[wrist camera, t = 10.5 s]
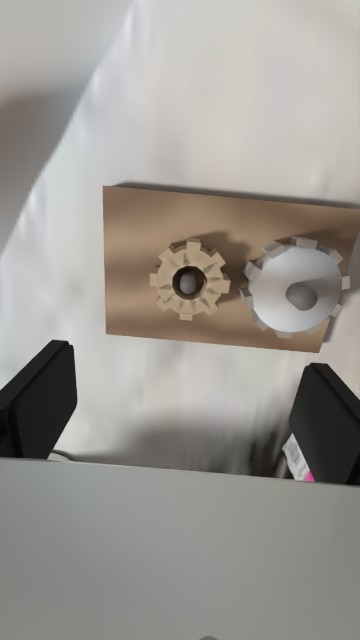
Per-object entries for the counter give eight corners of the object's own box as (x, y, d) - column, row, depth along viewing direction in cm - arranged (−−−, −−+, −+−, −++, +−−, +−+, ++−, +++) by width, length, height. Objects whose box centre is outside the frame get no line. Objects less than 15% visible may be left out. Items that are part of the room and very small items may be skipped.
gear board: (311, 344, 32) (341, 379, 26) (110, 326, 32) (91, 357, 26) (353, 209, 27) (405, 210, 20) (108, 186, 26) (83, 180, 20)
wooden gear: (219, 312, 29) (223, 323, 26) (151, 305, 29) (148, 316, 26) (231, 242, 26) (236, 246, 23) (155, 234, 26) (151, 238, 23)
